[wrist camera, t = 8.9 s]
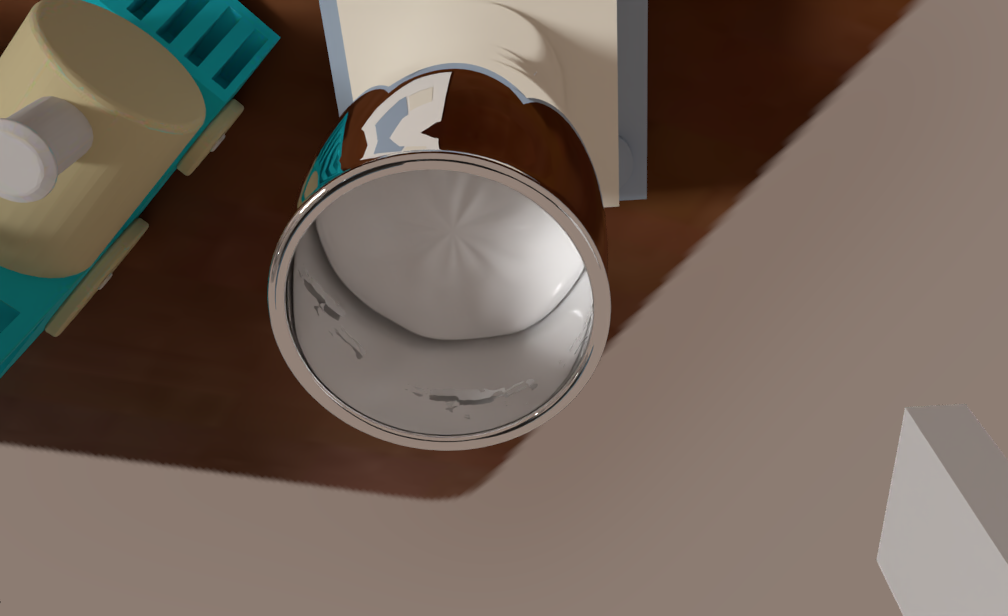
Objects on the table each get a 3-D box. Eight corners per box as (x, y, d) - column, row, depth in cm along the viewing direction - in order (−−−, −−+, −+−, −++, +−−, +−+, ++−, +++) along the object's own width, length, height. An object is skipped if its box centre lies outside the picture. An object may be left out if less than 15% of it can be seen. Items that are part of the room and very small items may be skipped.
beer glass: (485, 225, 32) (461, 512, 19) (331, 101, 30) (184, 328, 17) (620, 84, 29) (699, 305, 16) (462, -64, 27) (408, 56, 14)
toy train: (300, 45, 37) (182, 176, 24) (99, 293, 43) (-82, 503, 30) (138, -96, 34) (-94, -35, 21) (-51, 189, 41) (-320, 371, 28)
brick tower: (371, 181, 40) (339, 261, 33) (324, -109, 34) (273, -86, 27) (635, 163, 39) (660, 241, 32) (634, -135, 33) (665, -119, 26)
